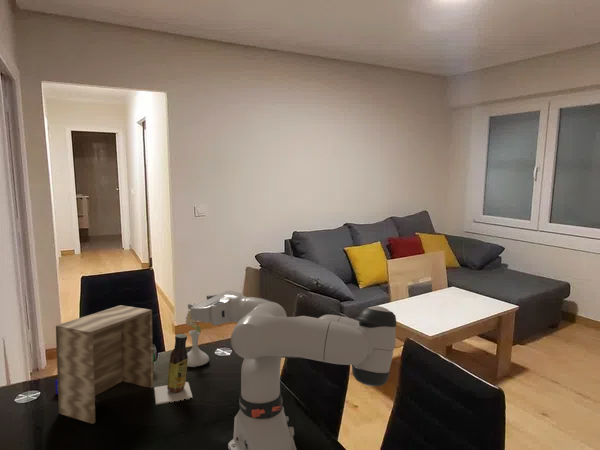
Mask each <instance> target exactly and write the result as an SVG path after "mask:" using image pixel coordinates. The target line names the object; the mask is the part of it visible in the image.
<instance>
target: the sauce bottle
mask: <svg viewBox="0 0 600 450" xmlns="http://www.w3.org/2000/svg"><path fill="white" fill-rule="evenodd" d="M187 339H188V335H187V334H185V333H177V334H176V335H175V337H174V340H175V342H174V348H173V349H172V350H171V353H170V356H169V357H170V358H169V363H168V364H169V365H168V372H167V374H168V375H167V382H166V383H167V385H168V386H167V389H168V391H170V392H180V391H182V390H183V389H184V386H185V382H187V381H186V380H187V372H188V371H187V370H188V366H187V362H188V355H187V353H188V352H187V347H186V345H187V343H186V342H187Z"/></svg>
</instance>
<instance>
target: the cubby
mask: <svg viewBox="0 0 600 450" xmlns="http://www.w3.org/2000/svg"><path fill="white" fill-rule="evenodd" d="M55 339H56V340H55V342H56V343H55V345H56V367H57V370H56V371H57V372H56V373H57V380H58V394H57V395H58V396H57V397H58V414H60V415H63V416H66V417H68V418H72V419H75V420H79V421H82V422H85V423H88V424H92V425H93V424H95V423H96V405H95V402H96V396H98V395H99V394H102V393H103V392H105V391H107V390H109V389H110V388H112V387H114V386H116V385H118V384H119V383H121V382H124V383H128V384H134V385H137V386H140V387H141V386H142V387H145V388H148V387H149V389H153V388H154V366H153V309H148V308H143V307H142V308H141V307H137V306H136V307H135V306H128V305H121V304H120V305H116V306H114V307H110V308H106V309H104V310H101V311H97V312H95V313H91V314H88V315H85V316H81V317H79V318H75V319H72V320H69V321H66V322H62V323H58V324H56V325H55ZM152 387H153V388H152ZM97 394H98V395H97Z"/></svg>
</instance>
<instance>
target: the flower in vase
mask: <svg viewBox="0 0 600 450" xmlns="http://www.w3.org/2000/svg"><path fill="white" fill-rule="evenodd" d="M196 324H197V325H196ZM185 325H187V327H192V328H193V330H192V329H191V330H189V331H188V334H189V335H190V338H191V341H192V347H191V349H190V351H188V352H187V355H188V362H187V368H188V367H189V368H197V366H198V367H200V366H201V367H202V366H204V365H206V364H207V363H209V361H210V357H209V355H208V354H207V353H206V352H204V351H203V350H201V349H200V348H199V337H200V334H201V333H202V329H201V325H199V321H197V320H193V319H192V318H191V314H190V310H188V311H187V314H186V317H185Z"/></svg>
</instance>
